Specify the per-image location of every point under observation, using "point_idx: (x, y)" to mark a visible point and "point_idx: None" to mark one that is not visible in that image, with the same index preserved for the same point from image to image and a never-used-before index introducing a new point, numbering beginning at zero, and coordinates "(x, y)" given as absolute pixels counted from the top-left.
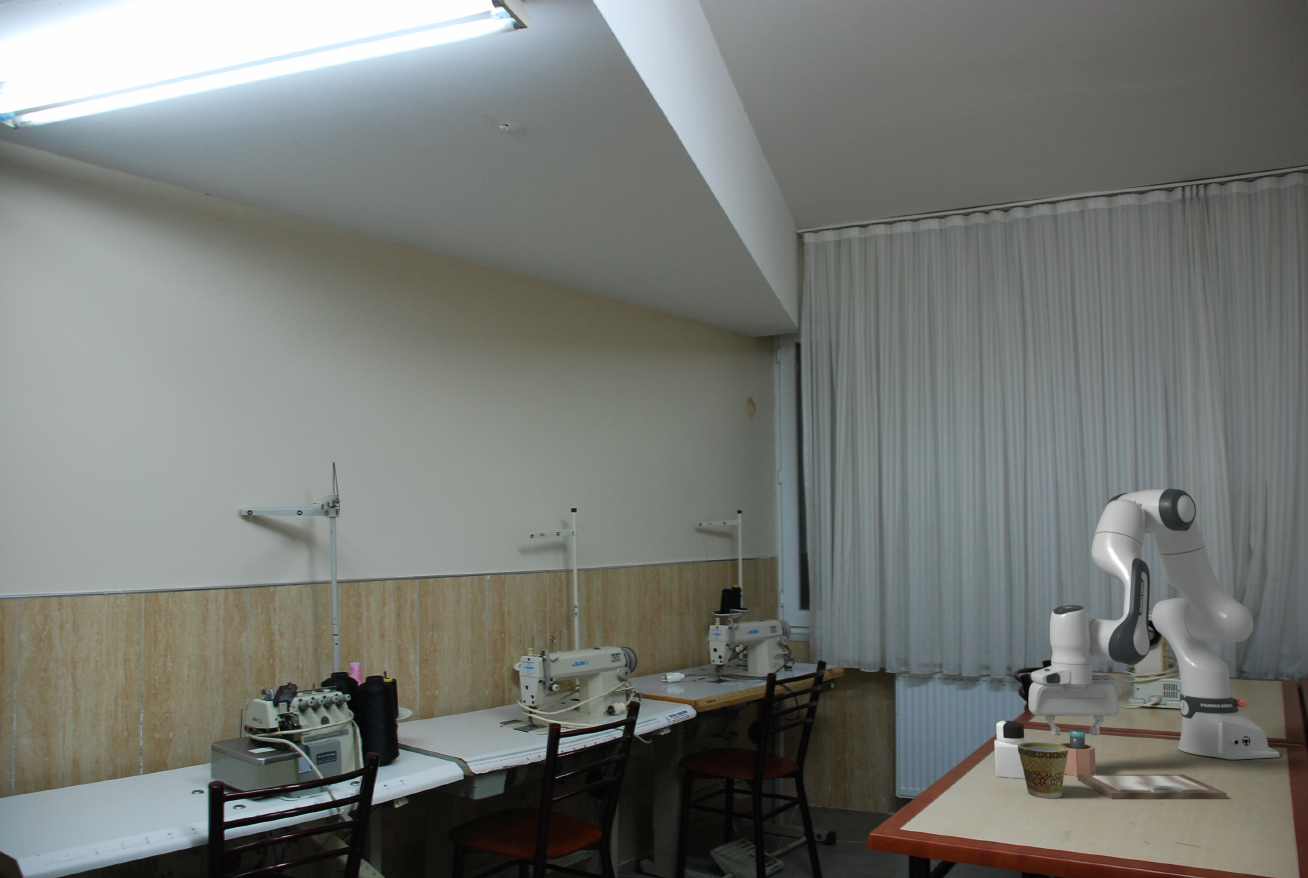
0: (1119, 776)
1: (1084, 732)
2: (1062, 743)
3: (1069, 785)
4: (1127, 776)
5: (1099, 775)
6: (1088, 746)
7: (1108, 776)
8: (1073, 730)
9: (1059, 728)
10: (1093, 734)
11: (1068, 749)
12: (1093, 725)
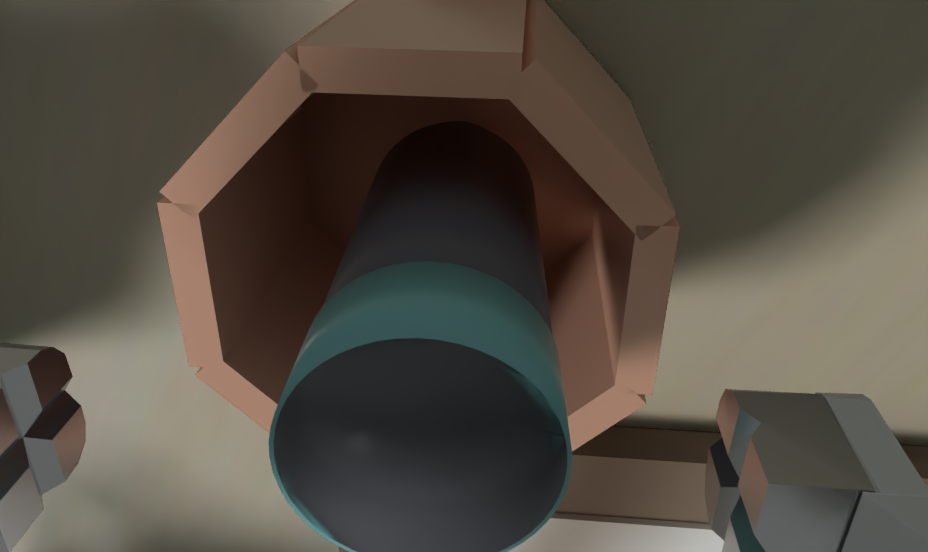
0: (643, 544)
1: (521, 533)
2: (276, 94)
3: (221, 524)
4: (713, 549)
5: None
6: (628, 283)
7: (550, 534)
8: (338, 460)
9: (7, 538)
10: (707, 498)
11: (255, 412)
12: (874, 516)
